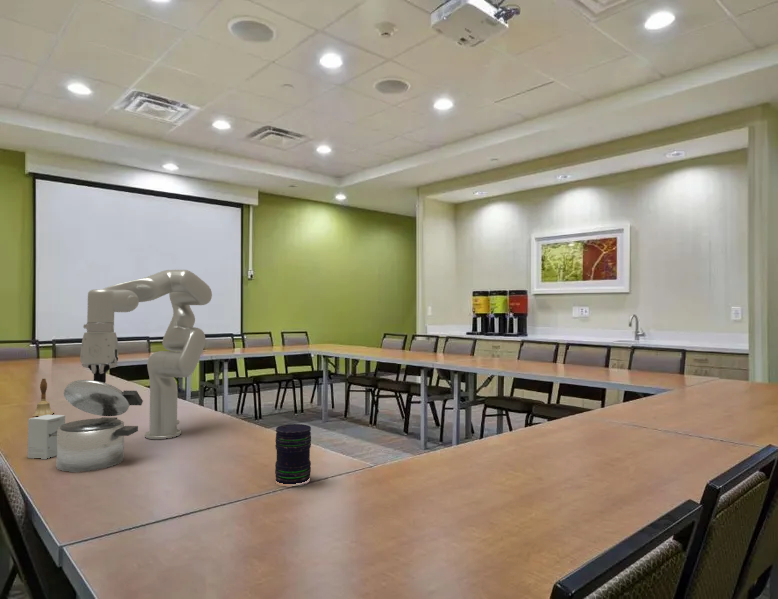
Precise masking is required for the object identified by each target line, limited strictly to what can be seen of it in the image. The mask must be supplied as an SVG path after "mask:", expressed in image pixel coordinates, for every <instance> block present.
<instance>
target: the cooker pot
mask: <svg viewBox="0 0 778 599" xmlns="http://www.w3.org/2000/svg"><path fill="white" fill-rule="evenodd" d="M137 432H139V426H138V425H125V421H123V420H121V419H118V417H117V416H102V417H99V418H87V419H82V420H81V419H80V420H73V421H71V422H65V424H63V425H61V426H60V427H58V428H57V456H56V463H55V464H56V466H55V467H57V468H56V470H58V469H59V470H58V471H60V470H62V471H61V472H64V471H69V472H68V473H81V472H80V471H86V472H91V471H90V470H94V471H98V470H97V469H100V470H103V469H102V468H105V469H108V468H111V467H110V466H112V467H114V466H113V465H115V466H117V465H119V464H121V463H122V462H124V459H123V458H124V454H125V453H124V452H125V451H124V450H125V449H124V448H125V447H124V444H125V443H124V442H125V441H124V439H125V438H124V437H128V436H130V435H133V434H135V433H137ZM121 461H122V462H121ZM120 462H121V463H120ZM118 463H119V464H118ZM116 464H117V465H116ZM107 467H108V468H107Z"/></svg>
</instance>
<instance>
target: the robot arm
mask: <svg viewBox="0 0 778 599" xmlns="http://www.w3.org/2000/svg"><path fill="white" fill-rule="evenodd" d="M166 295H169V301H170V303H171V307H172V313H173V314H172V317H171V320H170V323H169V324H168V327H167V329H166V331H165V333H164V336H163V338H162V346H163V348H164V349H165V350H159V351H156V352H153V353H151V355H150V356H149V357H148V359H147V363H146V364H147V365H146V366H147V372H148V376H149V426H148V427H149V428H148V430H149V431H146V432H145V433H144V438H145V437H146V439H150V440H165V439H166V438H168V439H172V437H173V438H176V436H177V437H178V436H181V435H182V430H181V429H179V428H178V425H180V420H178V392H179V391H178V384H177V382H176V379H175V378H188V377H190V376H191V375H193V373H194V372H195V370H196V369H197V365H198V363H199V361H200V358H201V356H202V353H203V351H204V348H205V346H206V335H205V332H204V331H203V329H201V328H199V327H194V325H195V324H196V323H195V322H196V318H195V316H196V315H195V314H194V311H192V309H191V306H205V305H207V304H209V303H210V302H211V300H212V297H213V294H212V289H211V287H210V286H209V285H208V284H207V283H206V282H205V281H204V280H203V279H202V278H201V277H199V276H198V275H196V274H195V273H193V271H190V270H188V269H166V270H162V271H160V272H156V273H153V274H152V275H151V274H150V275H149V276H146V277H142V278H138V279H134V280H129V281H126V282H121V283H116V284H113V285H110V286H107V287H105V288H102V289H91V290H89V291H88V292H87V316H86V317H87V319H86V324H85V323H84V324H83V326H82V327H83V328H84V329H86V332H83V336H82V340H81V344H80V346H81V347H80V356H79V359H80V363H81V364H82V365H81V366H82V368H86V369H89V370H90V371H91V373H92V374H93V380H94V381H99V382H103V383H106V382H107V373H108V372H109V371H110V370H111V369H112V368H116V367H117V368H118V361H119V342H118V336H117V333H116V332H115V313H129V312H133V311H134V310H135V309H136V308H138V306H139V303H145V302H151V301H154V300H157V299H158V298H161V297H164V296H166ZM180 434H181V435H180ZM166 440H167V439H166Z"/></svg>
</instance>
